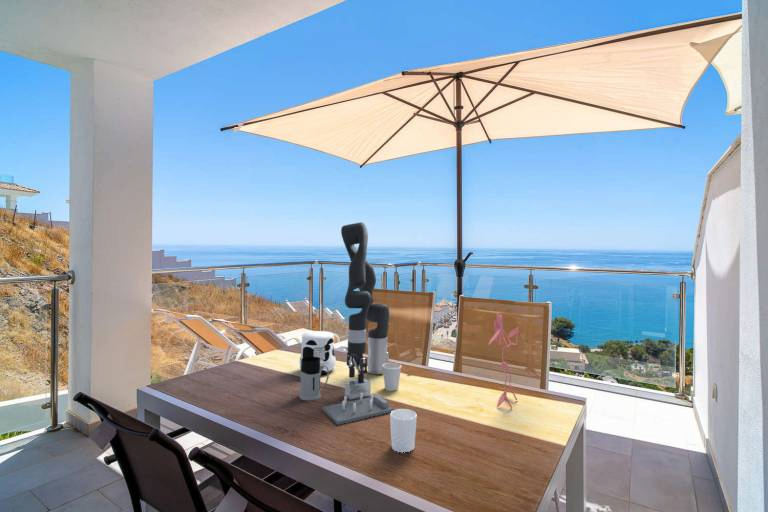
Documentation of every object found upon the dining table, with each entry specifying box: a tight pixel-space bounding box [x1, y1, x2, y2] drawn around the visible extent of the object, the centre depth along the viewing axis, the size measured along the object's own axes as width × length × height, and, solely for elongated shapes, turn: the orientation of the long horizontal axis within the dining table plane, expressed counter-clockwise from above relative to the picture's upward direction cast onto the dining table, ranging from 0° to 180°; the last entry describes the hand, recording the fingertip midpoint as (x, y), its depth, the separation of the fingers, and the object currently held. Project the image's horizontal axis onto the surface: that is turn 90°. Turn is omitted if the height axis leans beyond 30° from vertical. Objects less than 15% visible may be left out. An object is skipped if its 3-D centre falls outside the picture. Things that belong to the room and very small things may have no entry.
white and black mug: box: [298, 357, 330, 401], centre depth 152 cm, size 9×14×15 cm, turn 55°
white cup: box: [389, 408, 417, 454], centre depth 114 cm, size 8×8×10 cm
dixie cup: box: [382, 362, 403, 392], centre depth 163 cm, size 8×8×10 cm
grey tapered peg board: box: [321, 392, 395, 426], centre depth 140 cm, size 22×14×5 cm, turn 120°
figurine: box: [488, 312, 520, 409], centre depth 151 cm, size 15×26×35 cm, turn 149°
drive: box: [344, 378, 372, 400], centre depth 155 cm, size 9×5×6 cm, turn 118°
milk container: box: [299, 330, 337, 375], centre depth 186 cm, size 17×17×18 cm
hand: (356, 380), depth 155 cm, fingers open, 8 cm apart
